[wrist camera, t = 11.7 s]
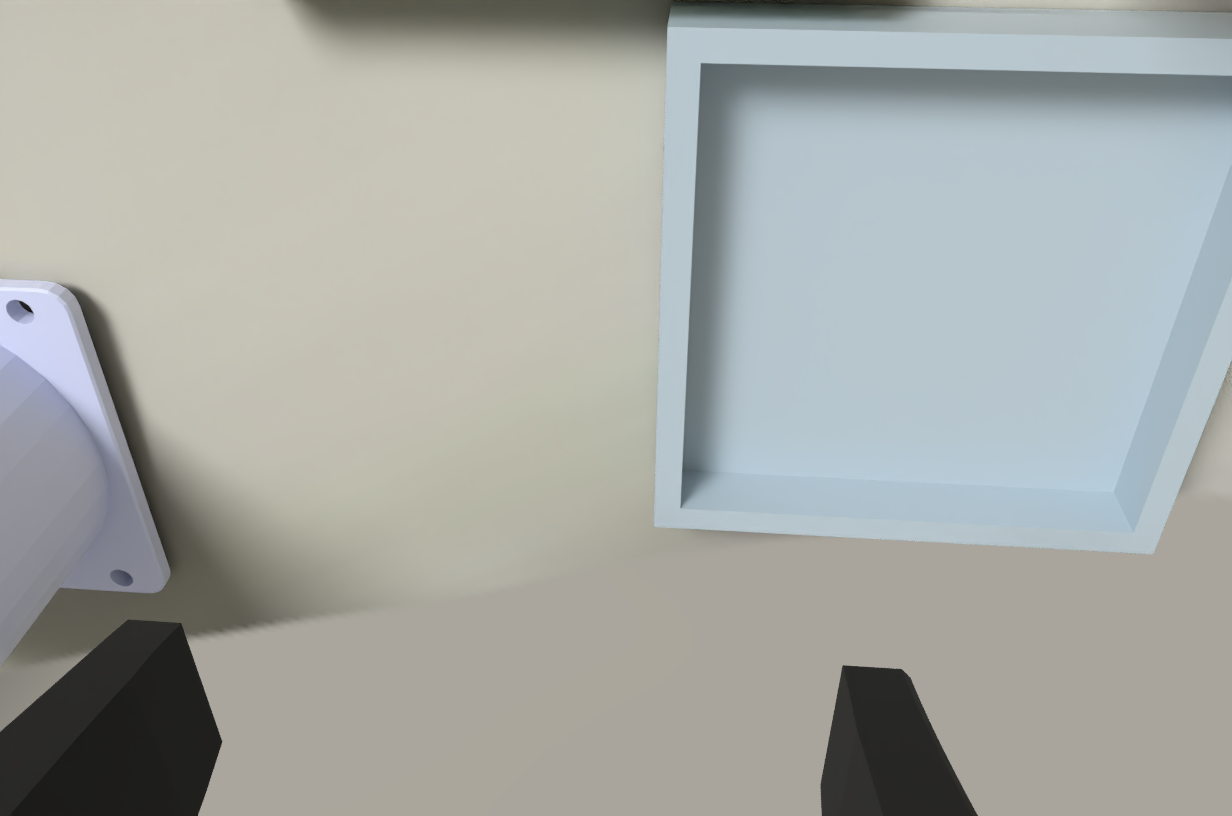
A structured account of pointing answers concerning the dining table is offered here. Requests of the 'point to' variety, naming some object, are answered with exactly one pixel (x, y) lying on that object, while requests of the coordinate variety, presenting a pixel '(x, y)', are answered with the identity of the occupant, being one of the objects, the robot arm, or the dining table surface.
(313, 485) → the dining table surface
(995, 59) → the blue-grey tray
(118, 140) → the dining table surface
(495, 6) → the dining table surface
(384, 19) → the dining table surface
